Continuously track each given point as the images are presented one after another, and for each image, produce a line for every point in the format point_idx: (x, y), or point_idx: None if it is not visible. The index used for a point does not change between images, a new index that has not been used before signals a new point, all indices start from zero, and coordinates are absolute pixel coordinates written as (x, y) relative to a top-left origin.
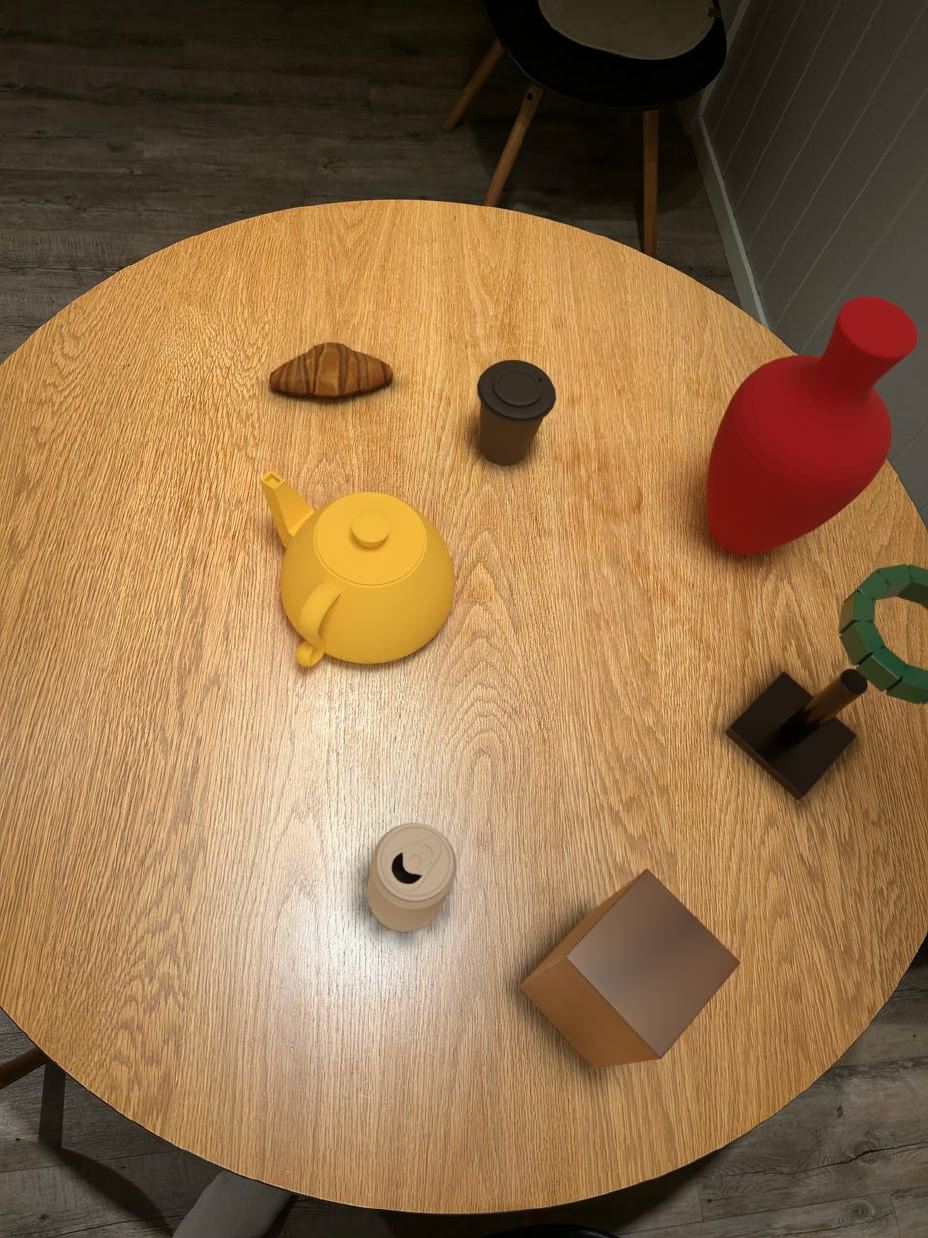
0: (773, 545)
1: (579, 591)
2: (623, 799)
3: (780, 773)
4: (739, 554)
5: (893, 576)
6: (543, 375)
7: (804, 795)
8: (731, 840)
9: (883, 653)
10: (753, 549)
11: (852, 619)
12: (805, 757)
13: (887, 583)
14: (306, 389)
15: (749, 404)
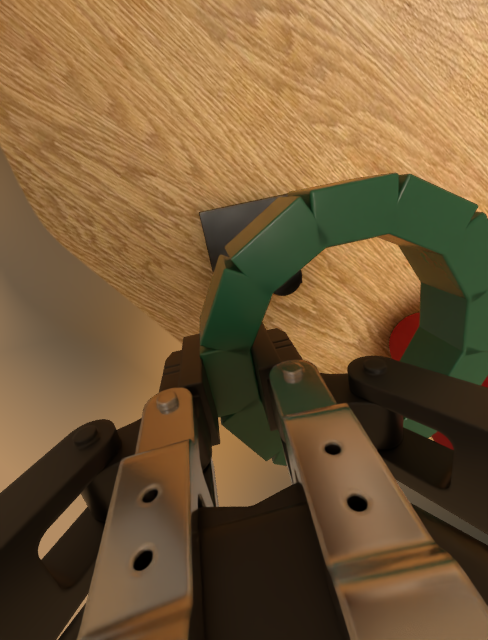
0: (409, 341)
1: (473, 161)
2: (294, 33)
3: (229, 208)
4: (400, 322)
5: (469, 371)
6: None
7: (199, 214)
8: (200, 117)
9: (381, 211)
10: (408, 327)
11: (481, 212)
12: (228, 242)
13: (469, 350)
14: None
15: None
